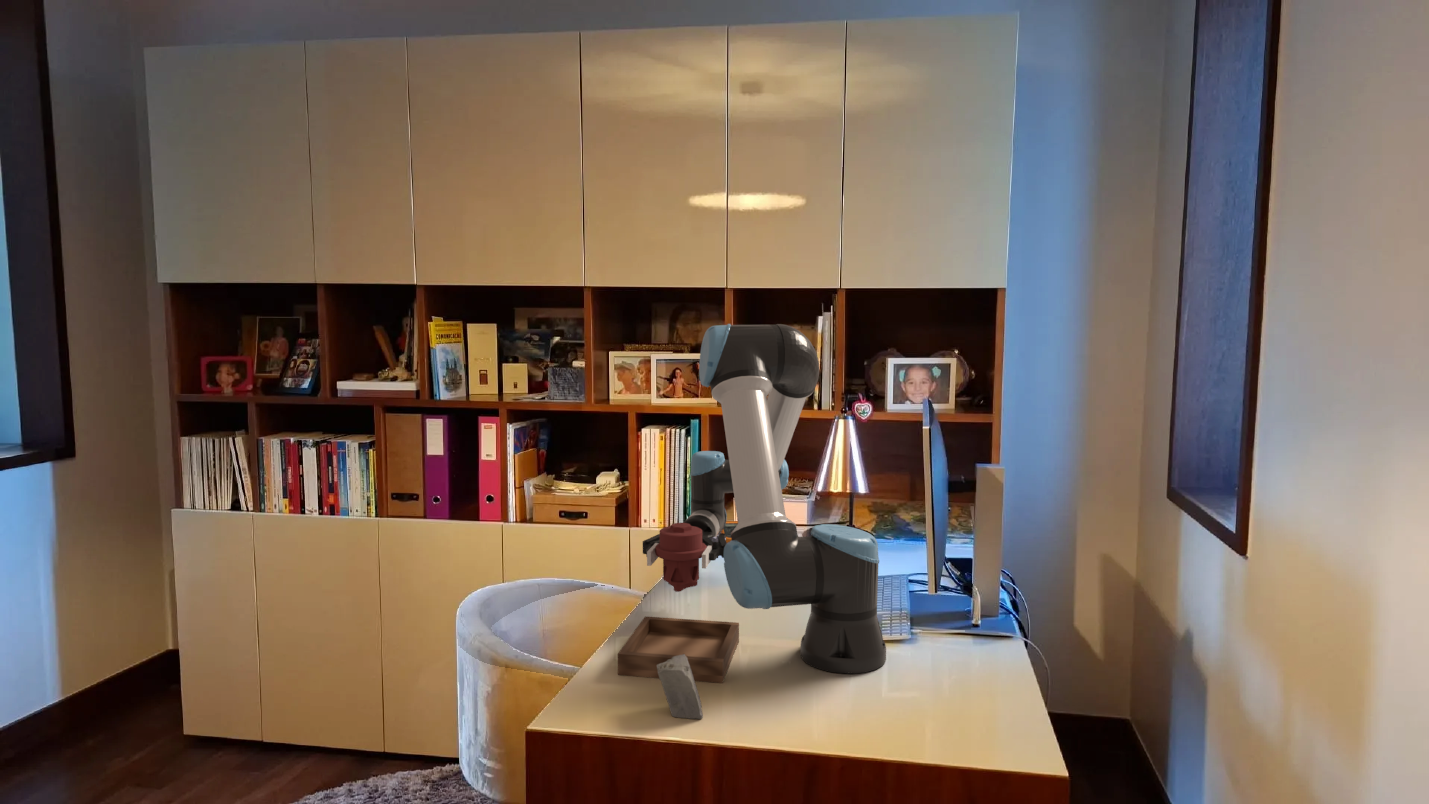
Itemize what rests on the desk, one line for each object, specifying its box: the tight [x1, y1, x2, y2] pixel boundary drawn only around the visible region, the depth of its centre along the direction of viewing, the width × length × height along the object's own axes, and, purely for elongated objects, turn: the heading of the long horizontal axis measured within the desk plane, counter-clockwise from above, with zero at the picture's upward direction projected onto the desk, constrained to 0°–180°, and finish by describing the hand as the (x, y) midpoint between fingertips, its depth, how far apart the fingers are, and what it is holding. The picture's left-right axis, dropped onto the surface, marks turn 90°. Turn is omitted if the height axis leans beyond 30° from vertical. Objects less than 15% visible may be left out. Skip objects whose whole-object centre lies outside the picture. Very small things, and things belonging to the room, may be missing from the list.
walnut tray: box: [617, 616, 740, 684], centre depth 155 cm, size 18×18×4 cm
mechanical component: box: [655, 522, 707, 593], centre depth 171 cm, size 12×10×10 cm
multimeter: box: [720, 520, 738, 543], centre depth 232 cm, size 9×18×3 cm, turn 3°
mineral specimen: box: [657, 654, 704, 720], centre depth 135 cm, size 7×9×8 cm
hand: (676, 560), depth 166 cm, fingers closed on mechanical component, 10 cm apart
